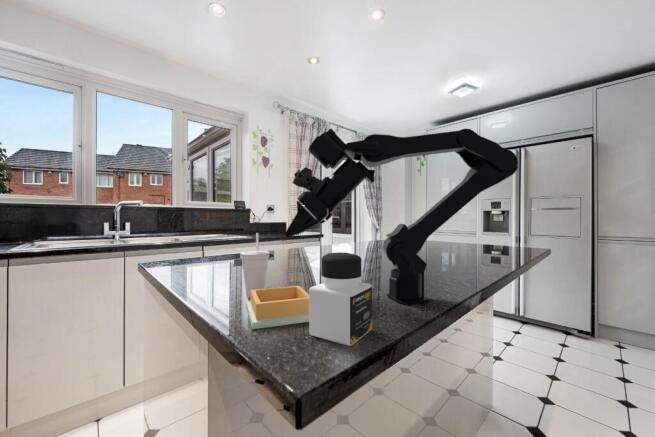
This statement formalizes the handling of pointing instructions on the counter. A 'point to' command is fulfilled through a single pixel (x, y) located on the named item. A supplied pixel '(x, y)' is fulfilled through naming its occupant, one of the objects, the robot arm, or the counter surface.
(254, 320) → the box
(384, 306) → the counter surface
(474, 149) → the robot arm
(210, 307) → the counter surface
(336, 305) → the medicine bottle
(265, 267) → the smoothie
